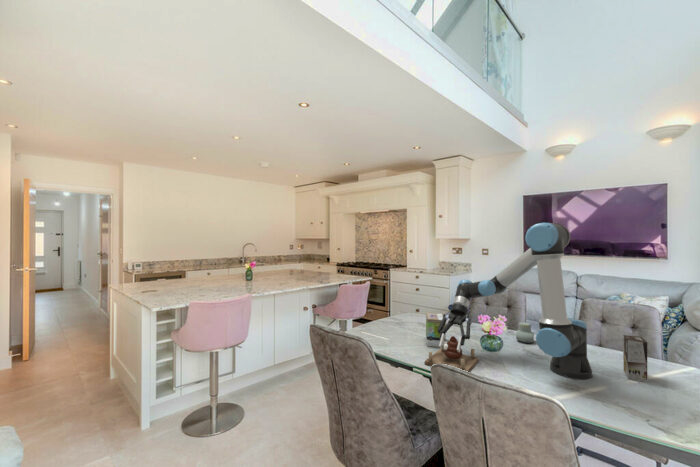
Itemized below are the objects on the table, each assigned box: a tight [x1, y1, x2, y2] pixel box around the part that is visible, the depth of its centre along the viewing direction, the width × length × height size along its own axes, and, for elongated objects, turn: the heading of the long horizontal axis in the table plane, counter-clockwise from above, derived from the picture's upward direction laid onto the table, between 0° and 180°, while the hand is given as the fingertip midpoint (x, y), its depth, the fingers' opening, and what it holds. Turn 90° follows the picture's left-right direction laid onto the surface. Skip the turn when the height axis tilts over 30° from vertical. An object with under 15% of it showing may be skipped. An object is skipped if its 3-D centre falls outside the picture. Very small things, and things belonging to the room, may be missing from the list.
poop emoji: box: [443, 335, 463, 359], centre depth 149 cm, size 10×8×9 cm
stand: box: [424, 343, 480, 373], centre depth 149 cm, size 19×19×6 cm
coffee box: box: [622, 334, 648, 383], centre depth 133 cm, size 9×6×16 cm
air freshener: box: [515, 321, 535, 344], centre depth 179 cm, size 11×8×10 cm
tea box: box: [425, 312, 447, 348], centre depth 178 cm, size 15×10×15 cm, turn 168°
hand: (449, 349), depth 146 cm, fingers closed on poop emoji, 7 cm apart
